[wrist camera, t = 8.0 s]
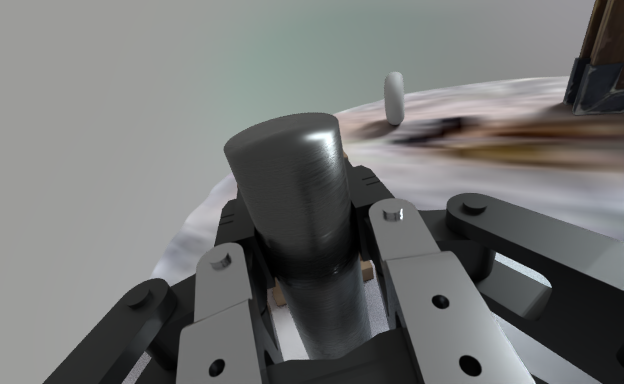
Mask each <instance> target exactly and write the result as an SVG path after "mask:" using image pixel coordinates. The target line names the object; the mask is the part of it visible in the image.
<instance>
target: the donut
mask: <svg viewBox="0 0 624 384" xmlns="http://www.w3.org/2000/svg"><path fill="white" fill-rule="evenodd" d="M384 97H385V111H386V117H387V120H388V122H389V123H390V124H392V125H398V124H400V123H401V122H402V121H403V119H404V85H403V77H402V75H401V74H400V73H398V72H392V73H390V74H389V75H388V76H387V77H386V79H385V85H384Z"/></svg>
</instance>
